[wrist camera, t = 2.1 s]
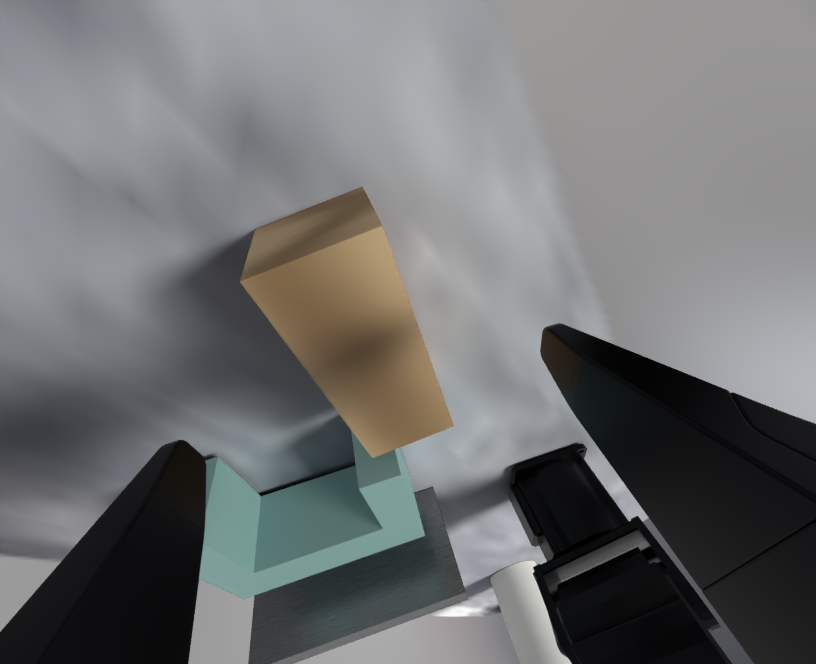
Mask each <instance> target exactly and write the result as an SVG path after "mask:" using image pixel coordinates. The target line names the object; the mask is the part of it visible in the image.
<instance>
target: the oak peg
mask: <svg viewBox="0 0 816 664" xmlns="http://www.w3.org/2000/svg"><path fill="white" fill-rule="evenodd" d="M240 283H241V284H242V285H243V287H244V288H245V289H246V291H247V292H248V293H249V295H250V296H251V297H252V299H253V300H254V301H255V303H256V304H257V305H258V307H259V308H260V309H261V311H262V312H263V313H264V315H265V316H266V317H267V319H268V320H269V321H270V323H271V324H272V325H273V327H274V328H275V329H276V331H277V332H278V333H279V335H280V336H281V337H282V339H283V340H284V341H285V343H286V344H287V345H288V347H289V348H290V349H291V351H292V352H293V353H294V355H295V356H296V357H297V359H298V360H299V361H300V363H301V364H302V365H303V367H304V368H305V369H306V371H307V372H308V373H309V375H310V376H311V377H312V379H313V380H314V381H315V383H316V384H317V385H318V386H319V388H320V389H321V390H322V392H323V393H324V394H325V396H326V397H327V398H328V400H329V401H330V402H331V404H332V405H333V406H334V408H335V409H336V410H337V412H338V413H339V414H340V416H341V417H342V418H343V420H344V421H345V422H346V424H347V425H348V426H349V428H350V429H351V430H352V432H353V433H354V434H355V436H356V437H357V438H358V440H359V441H360V442H361V444H362V445H363V446H364V448H365V449H366V450H367V452H368V453H369V454H370V456H371V457H372V458H374V457H377V456H379V455H382V454H384V453H387V452H389V451H392V450H394V449H397V448H399V447H402V446H405V445H407V444H410V443H412V442H415V441H417V440H420V439H422V438H425V437H427V436H430V435H432V434H435V433H437V432H440V431H442V430H445V429H448V428H450V427H453V426H454V425H453V423H452V420H451V417H450V414H449V411H448V409H447V406H446V403H445V400H444V397H443V395H442V392H441V389H440V386H439V383H438V381H437V378H436V375H435V372H434V369H433V367H432V364H431V361H430V358H429V355H428V353H427V350H426V347H425V344H424V341H423V339H422V336H421V333H420V330H419V327H418V325H417V322H416V319H415V316H414V313H413V311H412V308H411V305H410V302H409V299H408V297H407V294H406V291H405V288H404V285H403V283H402V280H401V277H400V274H399V271H398V269H397V266H396V263H395V260H394V257H393V255H392V252H391V249H390V246H389V243H388V241H387V238H386V235H385V232H384V229H383V227H382V224H381V222H380V220H379V218H378V216H377V214H376V212H375V210H374V208H373V207H372V205H371V203H370V201H369V199H368V197H367V195H366V193H365V191H364V189H363V187H361V188H358V189H356V190H353V191H350V192H348V193H345V194H343V195H340V196H338V197H335V198H333V199H330V200H327V201H325V202H322V203H320V204H317V205H315V206H312V207H310V208H307V209H305V210H302V211H299V212H297V213H294V214H292V215H289V216H287V217H284V218H282V219H279V220H277V221H274V222H271V223H269V224H266V225H264V226H261V227H259V228H256V229H255V232H254V236H253V239H252V242H251V246H250V249H249V252H248V256H247V259H246V262H245V266H244V269H243V273H242V276H241V279H240Z"/></svg>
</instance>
